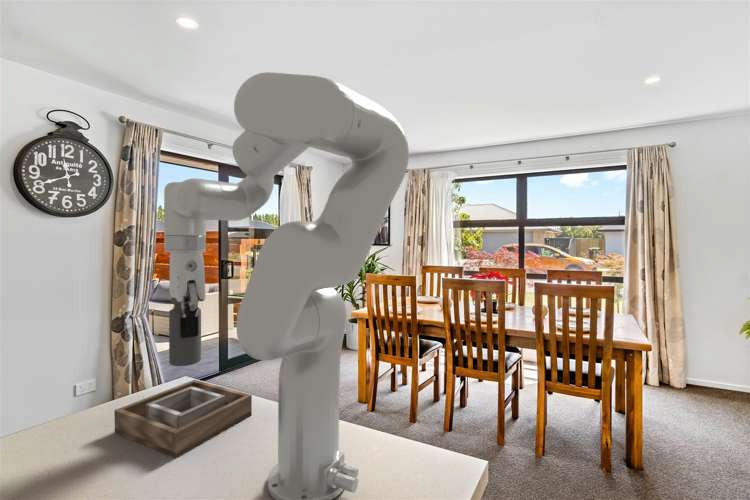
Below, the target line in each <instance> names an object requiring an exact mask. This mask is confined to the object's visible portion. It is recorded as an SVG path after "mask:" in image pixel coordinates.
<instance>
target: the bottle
mask: <svg viewBox="0 0 750 500" xmlns="http://www.w3.org/2000/svg"><path fill="white" fill-rule="evenodd" d="M196 293H197V292H196ZM173 294H174V291H173ZM184 301H189V299H184ZM170 302H171V304H172V305H173V306H174V305H175V307H174V308H173V307H172V308H171V309H170V310H169V313H168V314H169V315H168V318H169V319H168V322H169V323H168V324H169V325H168V326H169V327H168V338H169V340H168V343H169V344H168V345H169V346H168V352H169V353H168V359H169V365H171V366H174V367H186V366H191V365H195V364H198V363H199V362H201V360H202V309H201V308H200V307H198V336H195V337H188V338H181V337H180V318H181V317H182V311H181V303H180V302H178V301H176V299H175V298H172V297H171V301H170ZM199 302H200V301H199V299H198V303H199ZM186 307H187V305H185V308H186Z"/></svg>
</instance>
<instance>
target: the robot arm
mask: <svg viewBox="0 0 750 500" xmlns="http://www.w3.org/2000/svg"><path fill="white" fill-rule="evenodd" d="M233 111H234V113H233V114H234V116H235V118H236V121H237V123H238V124H239V126H240V127H242V129H244V131H242V133H241V134H240V135H238V136H237V137H236V138H235V140H234V142H233V144H232V149H231V150H232V155H233V158H234V160H235V163H236V164H237V166H238V168H239V169H240V170H241V171H242V172H243V173H244V174H245V175H246V177H244V178H243V179H242V180H240V181H239V182H237V183H234V182H233V183H232V182H227V181H219V180H211V179H205V178H204V179H203V178H189V179H185V180H183V181H173V182H172V181H171V182H169V183H167V184H165V187H164V189H163V190H164V191H163V193H164V194H163V196H164V197H163V199H164V203H163V207H164V211H163V215H164V216H163V217H164V218H163V220H164V221H163V223H164V225H163V233H164V235H163V236H164V237H163V239H164V240H163V242H164V243H163V246H164V247H163V248H164V251H163V252H164V253H169V294H170V295H169V296H170V297H171V299H172V298H175V299H176V301H178V302H180V303H181V311H182V317H181V318H180V337H181V338H188V337H195V336H198V308H199V302H204V301H205V300H206V276H205V262H204V255H203V253H206V251H207V250H206V249H207V246H206V245H207V239H206V238H207V237H206V236H207V221H229V222H234V221H235V222H236V221H241V220H244V219H247V218H249V217H251V216H252V215H253V214H254V213H256V212H257V211H259V210H260V209H261V208H263V206H265V205H266V203H267V202H268V201H269V199H270V198H271V195H272V192H273V189H274V185H275V176H276V175H277V174H279V173H280V172H281V171H283V169H284V168H286V167H287V166H288V165H290V164H291V163H292V162H293V161H294V160H295V159H297V158H298V157H299V156H300V155H302V154H303V153H304V152H306V150H308V149H309V148H312V149H315V150H319V151H322V152H326V153H328V154H329V153H330V154H333V155H336V156H340V157H344V158H347V159H350V161H351V162H352V164H351V166H350V167H349V168H348V169H347V170H346V171H345V172H344V173H343V174H342V175H341V176H340V177H339V178H338V179H337V181H336V183H334V185H333V187H332V188H331V190H330V193H329V196H328V198H327V200H326V203H325V205H324V208H323V209H322V212H321V214H320V215H319V216H318V218H317V219H316V220H314V221H312V220H311V221H310V220H295V221H287V222H285V223H284V224H281V225H279V226H278V227H276V228H275V229H274V230H273V231H272V232H271V233H269V235H268V236H267V237H266V238H265V241H264V242H263V243H262V245H261V248H260V250H259V253H258V255H257V258H256V260H255V264H254V266H253V268H252V272H251V274H250V277H249V280H248V282H247V286H246V288H245V290H244V294H243V296H242V298H241V302H240V305H239V308H238V312H237V317H236V337H237V339H238V340H237V341H238V343H239V346H240V347H241V349H242V350H243V352H244V353H245V354H246V355H248V357H250V358H252V359H255V360H257V361H273V360H277V359H280V358H281V363H280V367H279V371H278V393H277V395H278V396H277V397H278V403H277V406H278V407H277V410H278V414H277V416H278V417H277V418H278V419H277V421H278V422H277V423H278V427H277V428H278V430H277V433H278V435H277V436H278V437H277V450H278V451H277V463H276V464H275V465H274V466H273V467H272V468H271V470H270V471H269V473H268V475H267V488H268V493H269V494H270V495H271V497H272V498H273V499H274V500H333V499H335V498H336V497H338V496H339V495H340V494H342V492H343V491H344V490H345V491H347V492H349V493H352V494H354V493H356V490H357V489H358V485H359V479H358V476H359V469H358V468H356V467H353V466H348V465H347V464H346V463H345V452H343V451H341V450H340V449H339V448H340V447H339V445H340V444H339V443H340V442H339V440H340V436H339V435H340V430H339V429H340V426H339V425H340V384H341V381H340V379H341V378H340V377H341V358H342V357H341V356H342V348H343V341H344V336H345V331H346V326H347V316H348V315H347V307H346V304H345V301H344V298H343V297H342V295H341V294H340V292H338V290H336V289H335V288H337V287H341V286H345V285H347V284H349V283H351V282H353V281H354V280H355V279H356V278H357V276H359V274H360V273H361V270H362V268H363V266H364V263H365V261H366V259H367V257H368V254H369V253H370V250H371V248H372V246H373V244H374V242H375V240H376V238H377V235H378V233H379V231H380V229H381V227H382V224H383V222H384V219H385V217H386V214H387V212H388V210H389V208H390V206H391V205H392V202H393V200H394V199H395V197H396V194H397V192H398V191H399V188H400V187H401V184H402V182H403V180H404V177H405V175H406V172H407V170H408V169H407V168H408V165H409V156H410V155H409V154H410V152H409V150H410V149H409V143H408V140H407V136H406V133H405V131H404V130H403V128H402V126H401V124H400V123H399V121H397V119H396V118H395V117H394V116H393V115H392V113H390V112H389V111H387V110H386V109H385V108H384V107H382V106H380V105H379V104H378V103H376V102H374V101H372V100H370V99H369V98H368V97H366V96H363V95H361V94H359V93H357V92H356V91H353V90H351V89H350V88H348V87H346V86H344V85H343V84H341V83H338V82H337V81H334V80H332V79H330V78H326V77H323V76H318V75H311V74H310V75H309V74H297V73H294V74H293V73H284V72H283V73H282V72H269V71H268V72H267V71H266V72H259V73H256V74H254V75H252V76H250V77H249V78H247V79H246V80H245V81H244V82H243V83H242V84H241V86H239V88H238V90H237V92H236V95H235V97H234V102H233ZM173 291H174V294H173ZM196 292H197V293H196ZM184 299H189V301H184ZM198 299H199V302H198ZM185 305H187V307H186V308H185ZM174 307H175V305H174V304H173V307H172V309H173V308H174Z"/></svg>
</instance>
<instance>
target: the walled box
mask: <svg viewBox="0 0 750 500" xmlns="http://www.w3.org/2000/svg"><path fill="white" fill-rule="evenodd" d="M252 396H253V395H252V394H249V393H244V392H241V391H238V390H235V389H230V388H227V387H223V386H219V385H215V384H212V383H209V382H205V381H201V380H197V379H193V380H190V381H187V382H185V383H182V384H179V385H177V386H175V387H171V388H169V389H166V390H164V391H162V392H159V393H156V394H154V395H150V396H148V397H146V398H142V399H140V400H137V401H135V402H132V403H130V404H127V405H124V406H122V407H119V408H117V409H115V410H114V433H115V434H116V435H119V436H122V437H123V438H126V439H128V440H131V441H133V442H136V443H138V444H140V445H143V446H145V447H147V448H149V449H152V450H154V451H157V452H160V453H162V454H164V455H166V456H168V457H171V458H174V459H177V458H179V457H181V456H182V455H184V454H186V453H188V452H189V451H192V450H194V449H195V448H197V447H199V446H201V445H202V444H204V443H206V442H208V441H209V440H211V439H212V438H214V437H216V436H218V435H219V434H222V433H223V432H225V431H227V430H228V429H229V430H230V428H232V427H234V426H235V425H238V424H239V423H241V422H243V421H245V420H246V419H248V418H250V417H251V416H252V410H253V409H252V405H253V404H252V398H253V397H252Z"/></svg>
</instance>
